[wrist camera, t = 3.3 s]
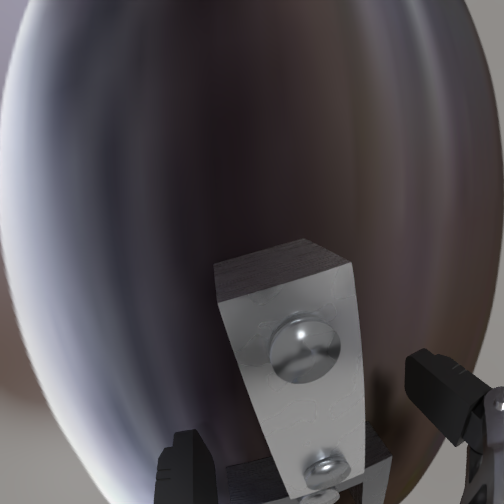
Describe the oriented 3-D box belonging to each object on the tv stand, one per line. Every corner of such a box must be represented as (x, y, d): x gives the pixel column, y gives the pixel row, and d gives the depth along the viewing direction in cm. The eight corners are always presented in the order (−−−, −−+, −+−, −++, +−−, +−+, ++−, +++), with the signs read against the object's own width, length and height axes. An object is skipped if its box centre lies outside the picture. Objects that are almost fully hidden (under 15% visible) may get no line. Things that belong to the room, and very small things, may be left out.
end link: (224, 465, 13) (231, 517, 9) (368, 418, 13) (398, 460, 10) (256, 512, 14) (265, 550, 11) (366, 475, 15) (386, 509, 12)
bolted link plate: (212, 262, 11) (218, 311, 6) (302, 237, 11) (361, 267, 7) (272, 441, 13) (293, 507, 9) (334, 420, 13) (368, 479, 9)
